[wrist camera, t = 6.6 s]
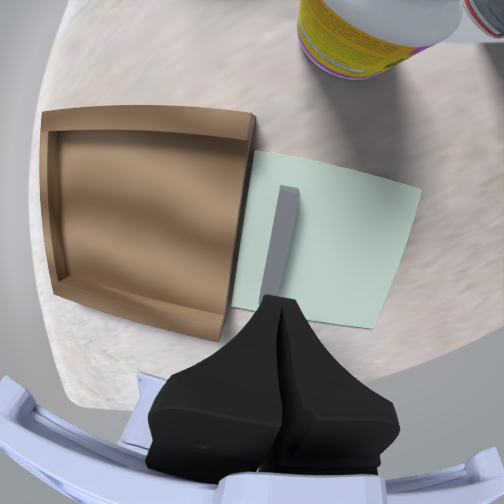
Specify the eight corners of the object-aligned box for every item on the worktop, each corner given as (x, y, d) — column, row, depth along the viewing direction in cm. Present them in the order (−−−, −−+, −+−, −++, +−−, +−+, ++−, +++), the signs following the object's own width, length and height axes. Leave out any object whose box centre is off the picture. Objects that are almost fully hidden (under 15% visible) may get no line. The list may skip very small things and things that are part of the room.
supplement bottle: (366, 100, 16) (489, 65, 4) (278, 49, 15) (268, -70, 3) (405, 34, 13) (515, -33, 1) (323, -14, 12) (356, -133, 1)
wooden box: (225, 319, 24) (218, 342, 21) (70, 279, 24) (53, 294, 21) (255, 116, 17) (251, 113, 14) (65, 110, 18) (42, 111, 15)
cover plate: (370, 321, 23) (378, 343, 20) (233, 299, 23) (226, 321, 21) (416, 187, 18) (434, 195, 15) (256, 149, 19) (251, 151, 16)
